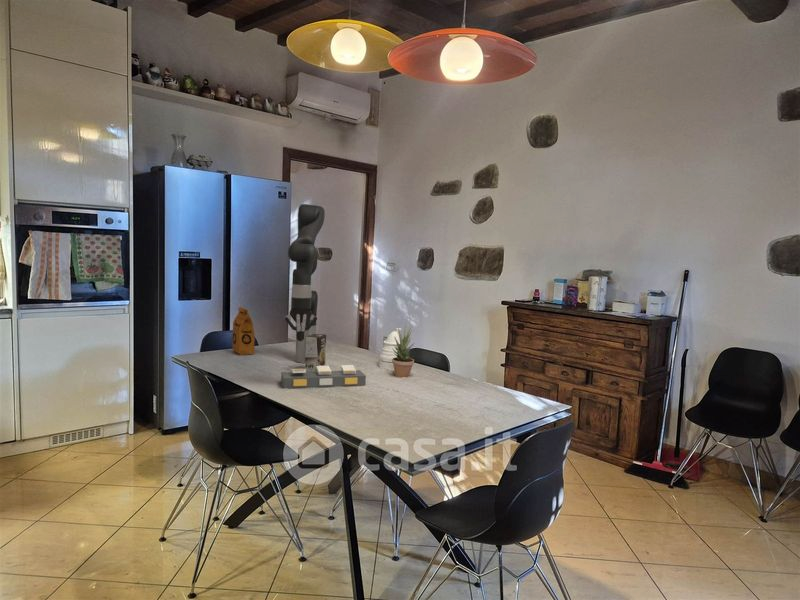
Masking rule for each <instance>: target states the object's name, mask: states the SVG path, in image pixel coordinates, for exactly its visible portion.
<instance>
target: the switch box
mask: <svg viewBox="0 0 800 600" xmlns="http://www.w3.org/2000/svg"><path fill="white" fill-rule="evenodd" d="M280 374H281V375H280V377H281V378H280V380H281V381H280V383H281V385H282V387H284V388H288V389H307V388H308V389H311V387H312V389H313V387H315V388H336V387H335V386H343V387H363V386H364V385H365V386H366V385H367V384H366V382H367V380H366V379H367V378H366V375H365V374H364V373H363V372H362V371H361V370H360V369H356V374H343V372H342V370H331V374H326V375H319V374H318V372H317V371H308V372H306V373H292V372H291V371H282V372H281V373H280ZM362 385H363V386H362ZM284 388H283V389H284Z"/></svg>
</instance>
